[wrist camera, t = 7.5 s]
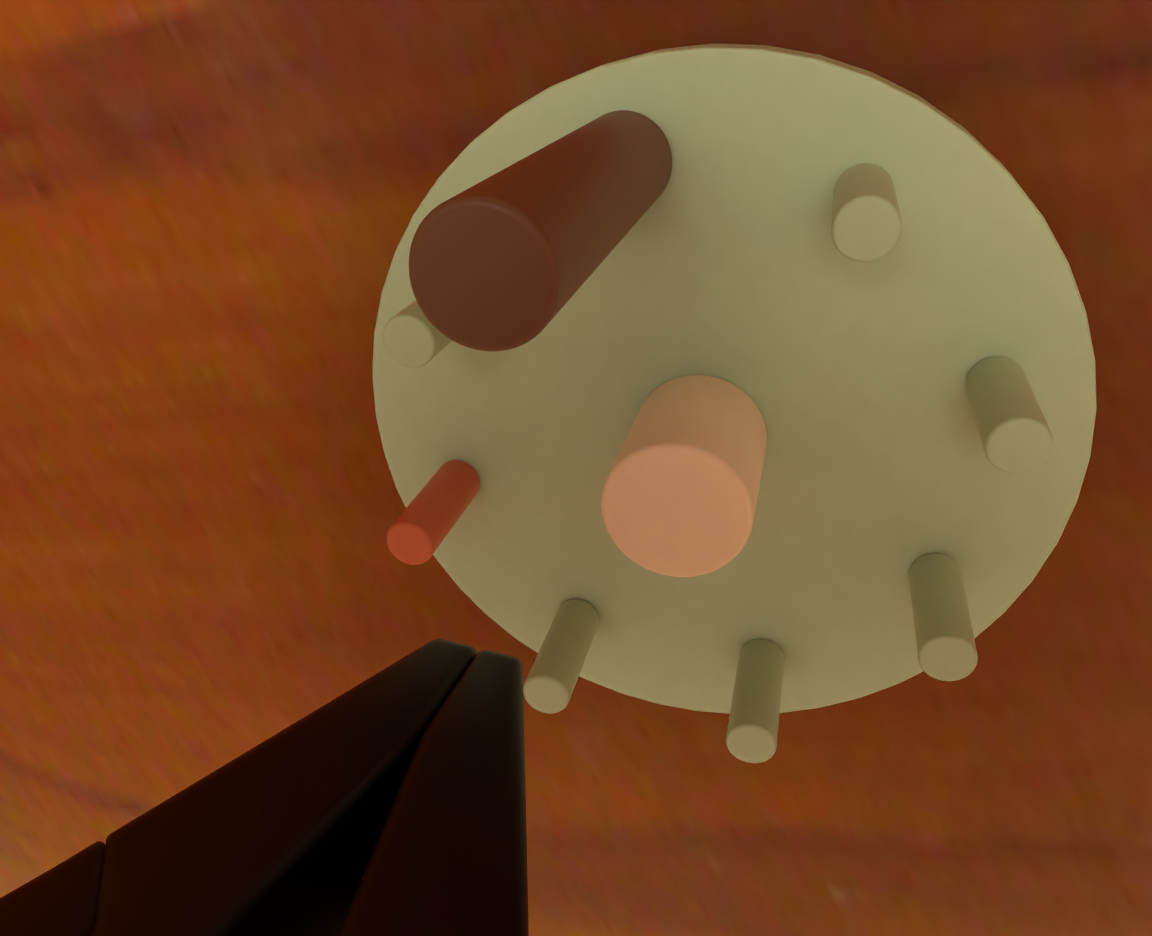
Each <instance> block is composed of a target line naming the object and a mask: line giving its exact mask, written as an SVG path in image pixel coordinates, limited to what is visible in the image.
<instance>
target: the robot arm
mask: <svg viewBox="0 0 1152 936" xmlns="http://www.w3.org/2000/svg"><path fill="white" fill-rule="evenodd" d="M0 936H529V933H528V887H527V841H526V795H525V749H524V703H523V666H522V662H521V660H520V659H519V658H517V657H514V656H509V655H505V654H501V653H497V652H493V651H489V650H483V651H481V652H479V653H478V652H477V651H476V649H475V648H474V647H472V646H468V645H464V644H460V643H455V642H451V641H447V640H443V639H436V640H433V641H431V642H429V643H427V644H425V645H424V646H422V647H420V648H419V649H417V650H415V651H414V652H412V653H410V654H409V655H407V656H405V657H404V658H402V659H400V660H399V661H397V662H395V663H394V664H392V665H390V666H389V667H387V668H385V669H384V670H382V671H380V672H379V673H377V674H375V675H374V676H372V677H370V678H369V679H367V680H365V681H364V682H362V683H360V684H359V685H357V686H355V687H354V688H352V689H350V690H349V691H347V692H345V693H344V694H342V695H341V696H339V697H337V698H336V699H334V700H332V701H331V702H329V703H327V704H326V705H324V706H322V707H321V708H319V709H317V710H316V711H314V712H312V713H311V714H309V715H307V716H306V717H304V718H302V719H301V720H299V721H297V722H296V723H294V724H292V725H291V726H289V727H287V728H286V729H284V730H282V731H281V732H279V733H277V734H276V735H274V736H272V737H271V738H269V739H267V740H266V741H264V742H262V743H261V744H259V745H257V746H256V747H254V748H252V749H251V750H249V751H247V752H246V753H244V754H242V755H241V756H239V757H237V758H236V759H234V760H232V761H231V762H229V763H227V764H226V765H224V766H222V767H221V768H219V769H218V770H216V771H214V772H213V773H211V774H209V775H208V776H206V777H204V778H203V779H201V780H199V781H198V782H196V783H194V784H193V785H191V786H189V787H188V788H186V789H184V790H183V791H181V792H179V793H178V794H176V795H174V796H173V797H171V798H169V799H168V800H166V801H164V802H163V803H161V804H159V805H158V806H156V807H154V808H153V809H151V810H149V811H148V812H146V813H144V814H143V815H141V816H139V817H138V818H136V819H134V820H133V821H131V822H129V823H128V824H126V825H124V826H123V827H121V828H119V829H118V830H116V831H114V832H113V833H111V834H110V835H108V837H107V839H106V845H105V844H104V843H103V842H101V841H98V842H96V843H94V844H92V845H91V846H89V847H87V848H86V849H84V850H82V851H81V852H79V853H77V854H76V855H74V856H72V857H71V858H69V859H67V860H66V861H64V862H62V863H61V864H59V865H57V866H56V867H54V868H52V869H50V870H49V871H47V872H45V873H43V874H42V875H40V876H38V877H37V878H35V879H33V880H31V881H30V882H28V883H26V884H24V885H23V886H21V887H19V888H17V889H16V890H14V891H12V892H10V893H9V894H7V895H5V896H3V897H2V898H0Z"/></svg>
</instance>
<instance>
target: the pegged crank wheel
mask: <svg viewBox="0 0 1152 936" xmlns="http://www.w3.org/2000/svg"><path fill="white" fill-rule="evenodd" d="M372 378H373V389H374V400H375V412H376V418H377V423H378V427H379V432H380V437H381V441H382V446H383V450H384V454H385V457H386V460H387V463H388V466H389V469H390V471H391V474H392V477H393V480H394V483H395V486H396V489H397V491H398V493H399V495H400V497H401V499H402V501H403V503H404V505H405V507H406V509H405V510H404V511H403V512H402V514H401V515H400V516H399V517H398V518H397V520H396V521H395V522H394V523H393V524H392V526H391V527H390V528H389V530H388V532H387V545H388V548H389V550H390V552H391V553H392V554H393V555H394V556H395V557H396V558H397V559H398V560H400V561H401V562H403V563H406V564H410V565H418V564H422V563H425V562H426V561H428V560H429V559H430V558H431V556H432V555H434V557H435V558H436V560H437V561H438V562H439V563H440V565H441V566H442V567H443V568H444V570H445V571H446V572H447V573H448V574H449V576H450V577H451V578H452V579H453V581H454V582H455V583H456V584H457V586H458V587H459V588H460V589H461V590H462V591H463V592H464V593H465V594H466V595H467V596H468V597H469V598H470V599H471V600H472V601H473V602H474V603H475V604H476V605H477V606H478V607H479V608H480V609H481V610H482V611H483V612H484V613H485V614H486V615H487V616H488V617H490V618H491V619H492V620H493V621H495V622H496V623H497V624H498V625H499V626H501V627H502V628H503V629H504V630H506V631H507V632H508V633H509V634H511V635H512V636H513V637H514V638H515V639H517V640H518V641H520V642H521V643H523V644H524V645H526V646H528V647H529V648H531V649H532V650H534V651H535V652H537V653H538V655H537V657H536V659H535V661H534V663H533V665H532V668H531V670H530V672H529V674H528V676H527V678H526V681H525V683H524V686H523V692H524V697H525V699H526V701H527V702H528V703H529V705H530V706H532V707H533V708H534V709H536V710H538V711H540V712H543V713H549V714H551V713H557V712H560V711H561V710H563V709H564V708H565V707H566V706H567V705H568V703H569V700H570V698H571V695H572V692H573V690H574V687H575V685H576V682H577V679H578V677H579V676H580V677H582V678H584V679H586V680H589V681H591V682H594V683H596V684H599V685H601V686H604V687H606V688H609V689H611V690H614V691H616V692H619V693H622V694H625V695H629V696H632V697H636V698H639V699H643V700H646V701H650V702H653V703H657V704H661V705H667V706H672V707H678V708H683V709H689V710H694V711H703V712H715V713H728V714H730V715H729V722H728V728H727V734H726V745H727V747H728V749H729V751H730V752H731V754H732V755H733V756H735V757H736V758H738V759H739V760H741V761H744V762H748V763H761V762H764V761H766V760H768V759H770V758H771V757H772V756H773V754H774V753H775V751H776V747H777V737H778V726H779V715H780V713H784V712H792V711H799V710H807V709H815V708H821V707H825V706H829V705H833V704H837V703H841V702H846V701H850V700H854V699H858V698H861V697H864V696H867V695H869V694H872V693H875V692H878V691H880V690H883V689H886V688H889V687H891V686H894V685H897V684H899V683H901V682H903V681H905V680H907V679H909V678H911V677H913V676H915V675H917V674H919V673H921V672H923V671H924V672H925V673H927V674H928V675H929V676H931V677H933V678H935V679H938V680H942V681H956V680H960V679H962V678H964V677H966V676H968V675H969V674H970V673H971V672H972V671H973V670H974V668H975V667H976V665H977V661H978V655H977V650H976V645H975V640H974V639H975V638H976V637H977V636H978V635H979V634H980V633H982V632H983V631H984V630H985V629H986V628H987V627H988V626H990V625H991V624H992V623H993V622H994V621H995V620H997V619H998V618H999V617H1000V616H1001V615H1002V614H1003V613H1004V612H1005V611H1006V610H1007V609H1008V608H1009V607H1010V606H1011V605H1012V603H1013V602H1014V601H1015V600H1016V599H1017V598H1018V597H1019V595H1020V594H1021V593H1022V592H1023V591H1024V590H1025V589H1026V587H1027V586H1028V585H1029V584H1030V583H1031V582H1032V581H1033V579H1034V578H1035V576H1036V575H1037V573H1038V572H1039V570H1040V569H1041V567H1042V566H1043V564H1044V563H1045V561H1046V560H1047V558H1048V557H1049V555H1050V554H1051V552H1052V551H1053V549H1054V547H1055V546H1056V544H1057V543H1058V541H1059V539H1060V537H1061V535H1062V532H1063V530H1064V528H1065V526H1066V524H1067V522H1068V520H1069V517H1070V515H1071V513H1072V511H1073V509H1074V507H1075V505H1076V503H1077V500H1078V497H1079V493H1080V490H1081V486H1082V483H1083V480H1084V476H1085V473H1086V470H1087V466H1088V463H1089V459H1090V455H1091V448H1092V440H1093V433H1094V425H1095V418H1096V410H1097V407H1096V367H1095V356H1094V351H1093V346H1092V340H1091V335H1090V329H1089V324H1088V319H1087V313H1086V310H1085V307H1084V304H1083V301H1082V299H1081V296H1080V293H1079V290H1078V287H1077V285H1076V282H1075V279H1074V276H1073V273H1072V270H1071V268H1070V265H1069V262H1068V261H1067V259H1066V257H1065V255H1064V253H1063V251H1062V250H1061V248H1060V246H1059V244H1058V242H1057V240H1056V239H1055V237H1054V235H1053V233H1052V231H1051V230H1050V228H1049V226H1048V224H1047V222H1046V220H1045V219H1044V217H1043V215H1042V214H1041V213H1040V211H1039V210H1038V209H1037V208H1036V206H1035V205H1034V204H1033V202H1032V201H1031V200H1030V198H1029V197H1028V196H1027V195H1026V193H1025V192H1024V191H1023V189H1022V188H1021V187H1020V185H1019V184H1018V183H1017V182H1016V180H1015V179H1014V178H1013V176H1012V175H1011V174H1010V173H1009V171H1008V170H1007V169H1006V168H1005V167H1004V165H1003V164H1002V163H1001V162H1000V161H999V160H998V159H997V158H996V157H995V156H993V155H992V154H991V153H990V152H989V151H988V150H987V149H986V148H985V147H984V146H983V145H982V144H981V143H980V142H979V141H978V140H977V139H976V138H975V137H974V136H973V135H971V134H970V133H969V132H968V131H967V130H966V129H965V128H964V127H963V126H962V125H960V124H959V123H957V122H956V121H954V120H953V119H952V118H950V117H949V116H947V115H946V114H944V113H943V112H942V111H940V110H939V109H937V108H936V107H934V106H933V105H932V104H930V103H929V102H927V101H926V100H924V99H923V98H922V97H920V96H919V95H917V94H915V93H913V92H911V91H909V90H907V89H905V88H903V87H901V86H899V85H897V84H895V83H893V82H891V81H889V80H887V79H885V78H883V77H881V76H879V75H877V74H875V73H873V72H870V71H867V70H864V69H861V68H858V67H855V66H852V65H849V64H846V63H843V62H840V61H837V60H834V59H831V58H828V57H825V56H822V55H819V54H813V53H807V52H802V51H796V50H790V49H785V48H779V47H774V46H768V45H745V44H714V43H712V44H703V45H694V46H685V47H676V48H667V49H659V50H656V51H652V52H648V53H644V54H640V55H636V56H632V57H628V58H625V59H621V60H617V61H613V62H610V63H607V64H604V65H601V66H598V67H596V68H593V69H591V70H588V71H586V72H584V73H581V74H579V75H576V76H574V77H572V78H569V79H567V80H564V81H562V82H560V83H557V84H555V85H552V86H550V87H549V88H547V89H545V90H544V91H542V92H540V93H539V94H537V95H535V96H534V97H532V98H530V99H529V100H527V101H525V102H524V103H522V104H520V105H519V106H517V107H515V108H514V109H512V110H510V111H509V112H507V113H506V114H505V115H504V116H502V117H501V118H500V119H499V120H497V121H496V122H495V123H494V124H493V125H491V126H490V127H489V128H488V129H486V130H485V131H484V132H483V133H481V134H480V135H479V136H478V137H477V138H475V139H474V140H473V141H472V142H470V144H469V145H468V146H467V147H466V148H465V149H464V150H463V151H462V152H461V153H460V154H459V156H458V157H457V158H456V159H455V160H454V161H453V162H452V163H451V164H450V165H449V166H448V168H447V169H446V170H445V171H444V172H443V173H442V174H441V175H440V176H439V178H438V179H437V181H436V182H435V183H434V185H433V186H432V188H431V189H430V191H429V192H428V194H427V195H426V197H425V198H424V200H423V201H422V202H421V204H420V205H419V207H418V208H417V210H416V211H415V213H414V214H413V216H412V218H411V220H410V223H409V225H408V227H407V229H406V231H405V233H404V235H403V237H402V239H401V241H400V243H399V245H398V247H397V249H396V251H395V253H394V256H393V259H392V262H391V265H390V268H389V272H388V275H387V278H386V281H385V284H384V287H383V290H382V293H381V298H380V304H379V310H378V315H377V321H376V326H375V332H374V347H373V371H372Z"/></svg>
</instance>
